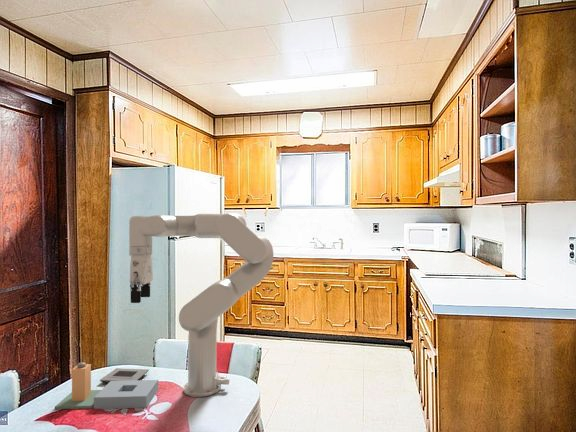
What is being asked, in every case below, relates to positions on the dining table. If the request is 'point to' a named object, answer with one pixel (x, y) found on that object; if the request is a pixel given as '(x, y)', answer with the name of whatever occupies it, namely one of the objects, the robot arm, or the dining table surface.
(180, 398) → the dining table surface
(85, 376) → the plug
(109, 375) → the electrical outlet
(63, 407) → the mat
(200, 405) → the dining table surface
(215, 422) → the dining table surface
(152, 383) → the grey socket block
